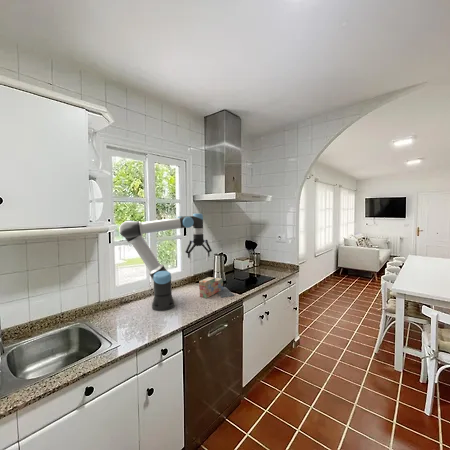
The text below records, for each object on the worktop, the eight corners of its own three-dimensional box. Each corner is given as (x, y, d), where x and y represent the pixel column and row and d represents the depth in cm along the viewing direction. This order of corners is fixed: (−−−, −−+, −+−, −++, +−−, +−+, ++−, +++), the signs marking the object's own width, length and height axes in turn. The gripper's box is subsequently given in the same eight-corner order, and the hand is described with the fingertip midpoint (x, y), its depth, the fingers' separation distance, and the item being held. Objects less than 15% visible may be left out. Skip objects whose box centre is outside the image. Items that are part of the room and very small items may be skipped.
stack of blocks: (217, 288, 205) (216, 273, 205) (223, 289, 202) (222, 274, 201) (199, 296, 188) (198, 281, 188) (206, 298, 185) (204, 282, 184)
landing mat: (221, 297, 186) (221, 296, 186) (214, 288, 207) (214, 288, 207) (234, 295, 189) (234, 295, 189) (225, 287, 210) (225, 286, 210)
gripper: (182, 234, 182) (183, 263, 183) (215, 233, 190) (215, 261, 191) (181, 234, 189) (181, 261, 190) (212, 232, 197) (213, 259, 198)
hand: (198, 261), depth 191 cm, fingers open, 13 cm apart
